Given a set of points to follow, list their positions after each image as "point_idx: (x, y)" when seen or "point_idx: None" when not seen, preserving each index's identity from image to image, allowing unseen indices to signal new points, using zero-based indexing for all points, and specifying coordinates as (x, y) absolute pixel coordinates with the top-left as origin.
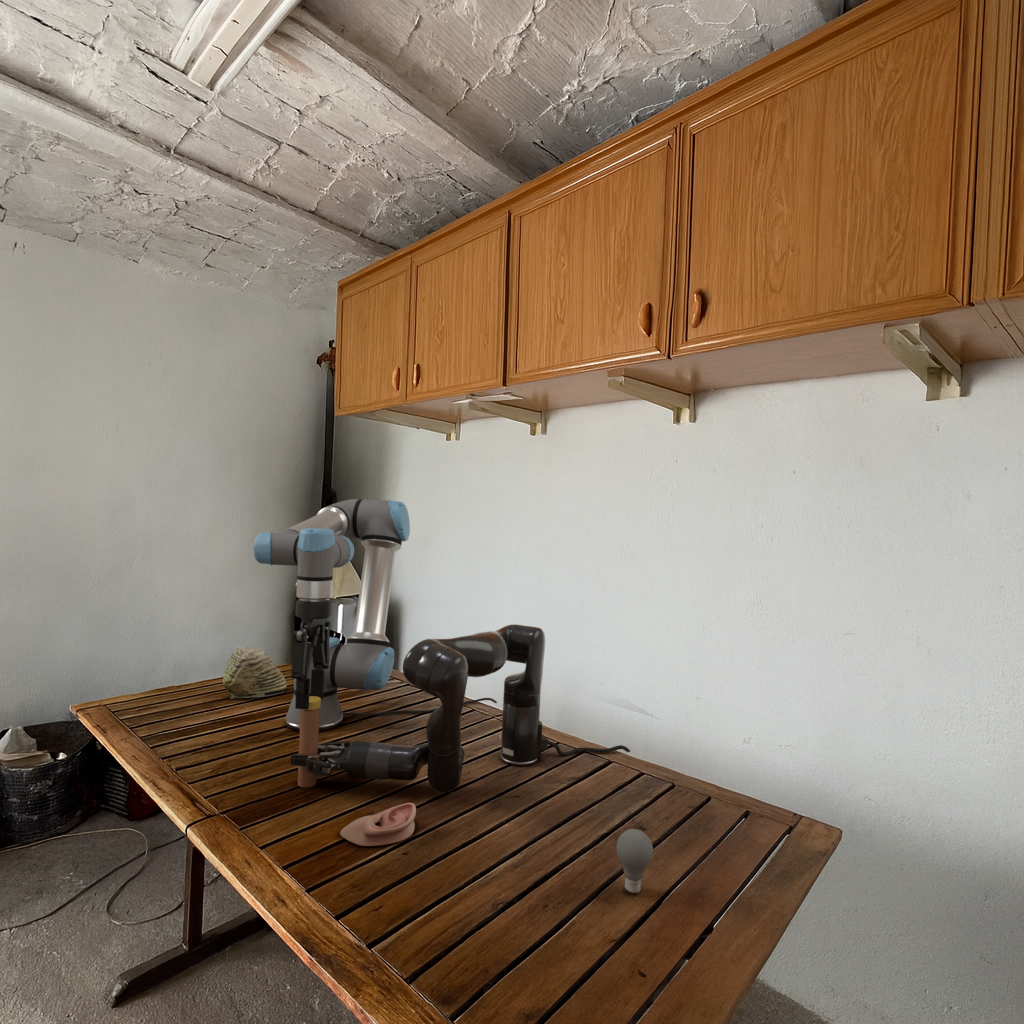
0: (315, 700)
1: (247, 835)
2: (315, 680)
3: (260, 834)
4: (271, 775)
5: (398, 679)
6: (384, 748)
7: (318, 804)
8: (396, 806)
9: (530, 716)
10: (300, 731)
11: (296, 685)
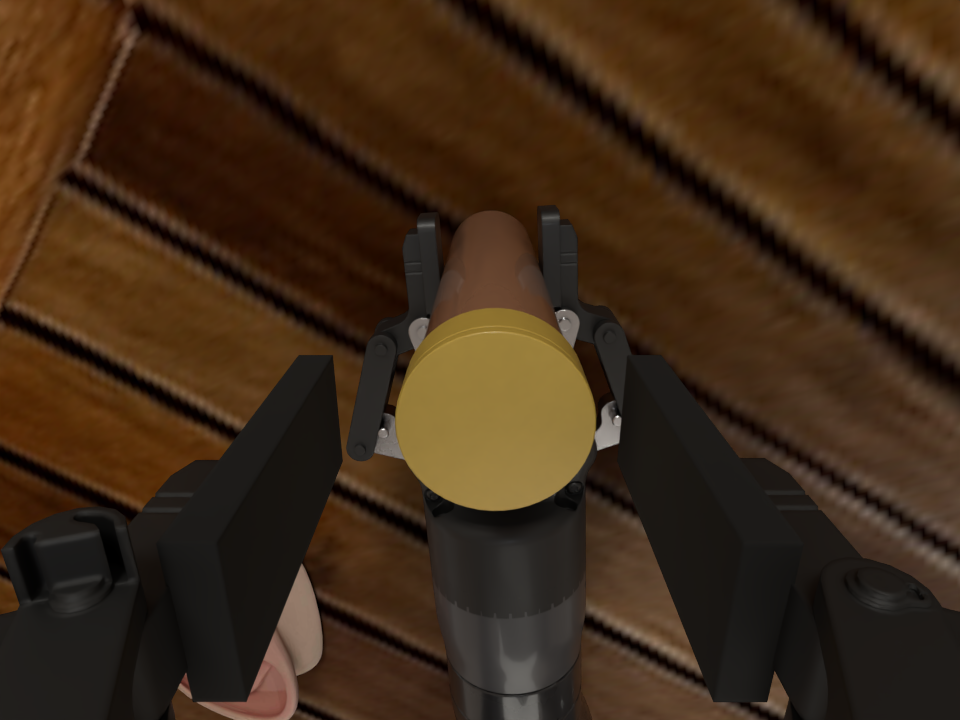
0: (468, 484)
1: (43, 226)
2: (677, 504)
3: (69, 268)
4: (539, 39)
5: None
6: (484, 670)
7: (335, 368)
8: (279, 667)
9: None
10: (442, 289)
11: (207, 479)
